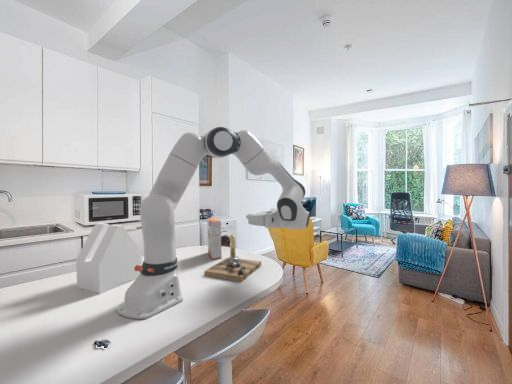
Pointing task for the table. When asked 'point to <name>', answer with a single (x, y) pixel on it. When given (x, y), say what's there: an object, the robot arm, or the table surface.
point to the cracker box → (214, 237)
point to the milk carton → (107, 259)
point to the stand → (233, 270)
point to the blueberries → (102, 343)
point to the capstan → (233, 253)
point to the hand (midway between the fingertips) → (247, 216)
